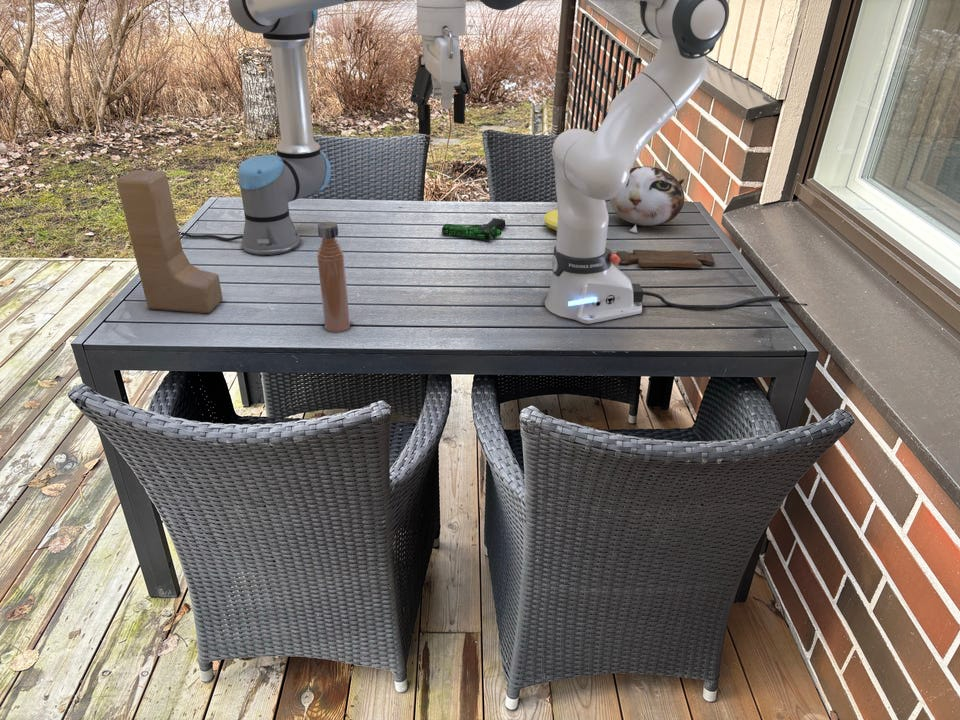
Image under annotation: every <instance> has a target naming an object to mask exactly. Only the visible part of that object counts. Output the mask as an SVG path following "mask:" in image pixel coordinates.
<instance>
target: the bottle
mask: <svg viewBox="0 0 960 720" xmlns="http://www.w3.org/2000/svg"><path fill="white" fill-rule="evenodd" d="M321 239H322V240H321V241H320V244H319V248H318V251H317V256H316V259H317V267H318V276H319V277H318V278H319V286H320V295H321V305H322V313H323V322H324V329H325V330H326V331H328V332H332V333H339V332H340V333H341V332H344V331H347V330H348V329H350V327H351V317H350V307H349V296H348V285H347V284H348V283H347V273H346V262H345V254H344V251H343V249H342V247H341V246H340V244H339V242H338V239H336V237H335V238H330V239H325V238H321Z"/></svg>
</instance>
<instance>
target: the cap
mask: <svg viewBox="0 0 960 720" xmlns="http://www.w3.org/2000/svg"><path fill="white" fill-rule="evenodd" d="M317 232H318V237H319V238H321V239H322V238H325V239H330V238H335V239H336V237H338V236H339V227H338V223H337V222H335V221H323V222H320V223H318V224H317Z"/></svg>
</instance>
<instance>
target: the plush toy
mask: <svg viewBox="0 0 960 720" xmlns="http://www.w3.org/2000/svg"><path fill="white" fill-rule="evenodd" d="M684 181H685V179H684V178H682V179H680V180H678V179H677V178H676V177H675V176H674V175H673V174H671V173H670V172H668V171H666V170H664V169H662V168H659V167H656V166H650V165H649V166H647V165H645V166H642V165H641V166H635V167H631V170H630V173H629V179H628V183H627V185H626V187H625V188H624V190H623V191H622V192H621V193H620V194H619V195H618V196H616V197H614V198H612V199H609V200H608V201H609V203H610V206H611V208H612V210H613V211H614V212H615V213H616V214H617V216H618V217H619V218H621V219H623V220H624V221H625V222H628V223H630V224H633V227H632V228H630V229H629V230H628V231H629V232H632V233H639V232H638V229H637V226H641V227H657V226H661V225H664V224H667V223H668V222H670V221H672V220H674V219H675V218H676V217H677V216H678V215H679V214H680V213H681V211H682V210H683V206H684V204H685V192H684V188H683V186H682V184H684Z"/></svg>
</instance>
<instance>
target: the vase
mask: <svg viewBox="0 0 960 720" xmlns="http://www.w3.org/2000/svg"><path fill="white" fill-rule="evenodd" d="M543 222H544V225H545V226H546V227H548V228H550V229H551V230H554V231H556V232H557V223H558V208H557V209H552V210H549V211H548V212H547V213H545V214H544V216H543Z"/></svg>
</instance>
